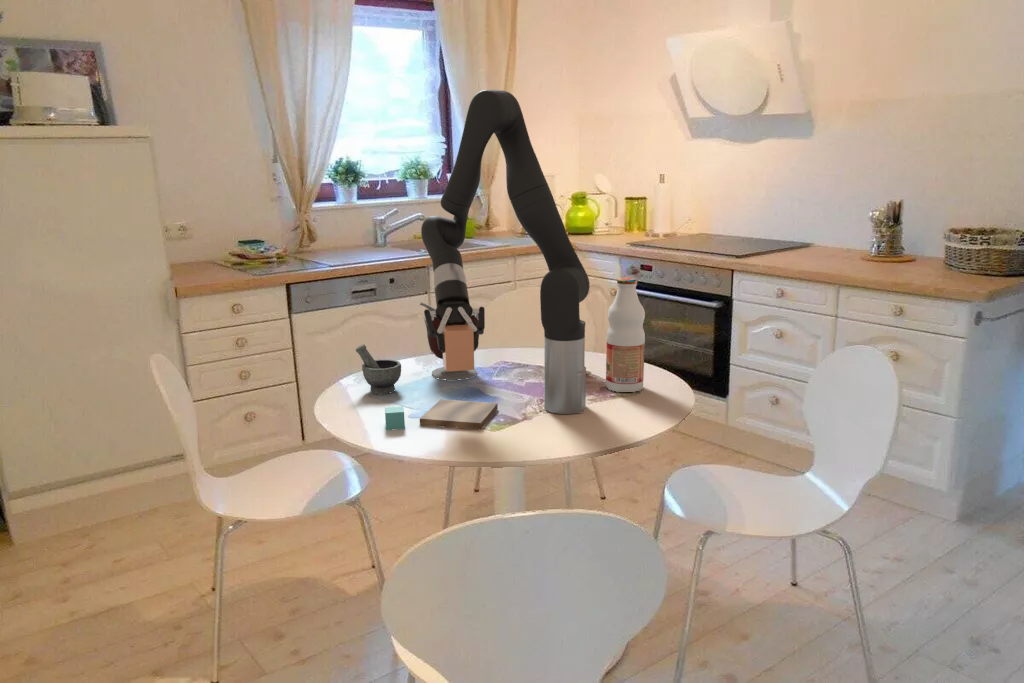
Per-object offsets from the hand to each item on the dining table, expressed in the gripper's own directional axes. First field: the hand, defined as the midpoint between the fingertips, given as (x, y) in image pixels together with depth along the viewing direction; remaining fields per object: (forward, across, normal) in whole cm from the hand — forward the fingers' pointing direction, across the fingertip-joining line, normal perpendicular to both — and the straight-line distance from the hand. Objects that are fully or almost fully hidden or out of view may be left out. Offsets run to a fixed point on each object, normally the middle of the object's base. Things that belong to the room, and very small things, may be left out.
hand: (459, 349), depth 170 cm
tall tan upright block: (+2, 0, +4) cm, 5 cm away
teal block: (+12, -15, +11) cm, 22 cm away
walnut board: (+10, 0, +13) cm, 16 cm away
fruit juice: (+2, +44, +22) cm, 49 cm away
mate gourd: (-15, +2, +38) cm, 41 cm away
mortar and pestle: (-7, -17, +30) cm, 36 cm away
